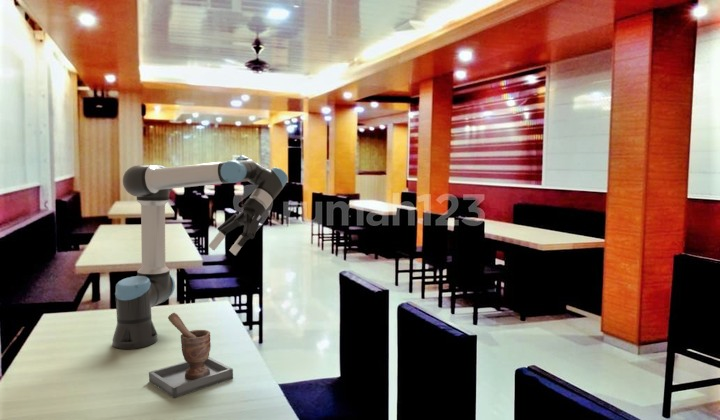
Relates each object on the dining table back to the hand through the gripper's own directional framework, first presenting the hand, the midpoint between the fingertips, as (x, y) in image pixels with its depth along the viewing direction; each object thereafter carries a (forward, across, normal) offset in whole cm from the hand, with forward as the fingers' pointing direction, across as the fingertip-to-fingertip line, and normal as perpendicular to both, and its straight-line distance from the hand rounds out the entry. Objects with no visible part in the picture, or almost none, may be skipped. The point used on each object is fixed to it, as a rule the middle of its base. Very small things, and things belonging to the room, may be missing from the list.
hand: (221, 250), depth 181 cm
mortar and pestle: (+38, -14, -11) cm, 42 cm away
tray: (+39, -14, -11) cm, 43 cm away
